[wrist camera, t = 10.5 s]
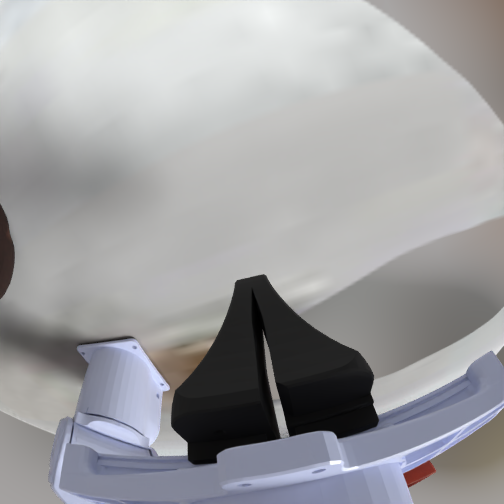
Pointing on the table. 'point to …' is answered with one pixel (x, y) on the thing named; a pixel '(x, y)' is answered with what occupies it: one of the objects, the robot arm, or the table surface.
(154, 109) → the table surface
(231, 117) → the table surface
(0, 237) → the dark brown rounded piece
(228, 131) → the table surface
